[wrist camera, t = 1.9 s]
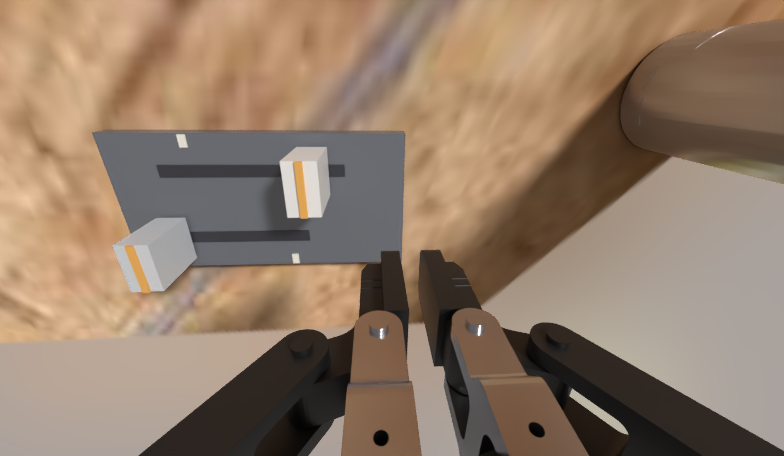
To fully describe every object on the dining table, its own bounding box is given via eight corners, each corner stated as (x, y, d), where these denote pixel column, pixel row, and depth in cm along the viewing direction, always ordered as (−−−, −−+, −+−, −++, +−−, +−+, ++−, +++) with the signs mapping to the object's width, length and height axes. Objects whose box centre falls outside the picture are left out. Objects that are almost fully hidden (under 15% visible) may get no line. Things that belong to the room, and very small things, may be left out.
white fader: (326, 146, 25) (316, 162, 20) (330, 194, 27) (321, 218, 22) (296, 146, 25) (278, 162, 20) (301, 194, 26) (286, 218, 22)
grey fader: (185, 217, 27) (145, 246, 22) (197, 257, 28) (162, 292, 24) (156, 217, 27) (109, 247, 22) (169, 258, 28) (129, 293, 24)
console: (403, 131, 26) (405, 134, 25) (400, 253, 32) (401, 262, 30) (107, 129, 25) (90, 132, 24) (153, 258, 30) (142, 267, 29)
